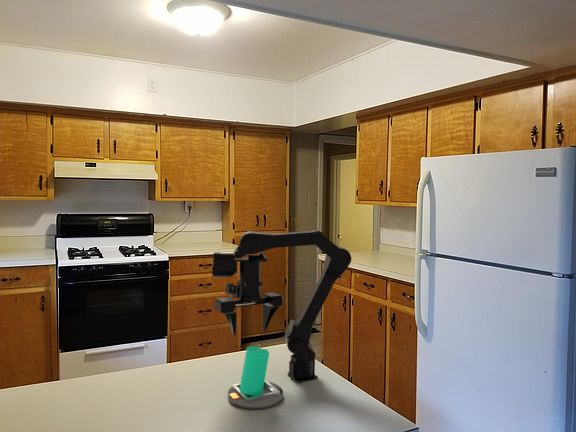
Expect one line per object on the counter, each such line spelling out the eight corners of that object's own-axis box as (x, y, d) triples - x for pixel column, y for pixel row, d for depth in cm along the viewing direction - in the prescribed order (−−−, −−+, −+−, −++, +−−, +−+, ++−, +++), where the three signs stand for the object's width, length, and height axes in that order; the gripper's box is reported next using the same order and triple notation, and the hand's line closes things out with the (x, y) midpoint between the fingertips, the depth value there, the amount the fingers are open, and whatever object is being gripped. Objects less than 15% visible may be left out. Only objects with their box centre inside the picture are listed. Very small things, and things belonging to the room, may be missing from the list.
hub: (267, 381, 123) (267, 373, 123) (292, 402, 111) (293, 393, 110) (219, 391, 116) (219, 383, 116) (241, 415, 104) (241, 406, 104)
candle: (258, 397, 109) (267, 349, 109) (235, 391, 110) (244, 343, 111) (265, 390, 115) (273, 344, 115) (243, 384, 116) (252, 339, 117)
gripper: (267, 270, 134) (266, 320, 135) (207, 274, 125) (207, 329, 126) (284, 276, 125) (283, 331, 125) (222, 282, 115) (221, 341, 116)
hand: (249, 332), depth 124 cm, fingers open, 9 cm apart
